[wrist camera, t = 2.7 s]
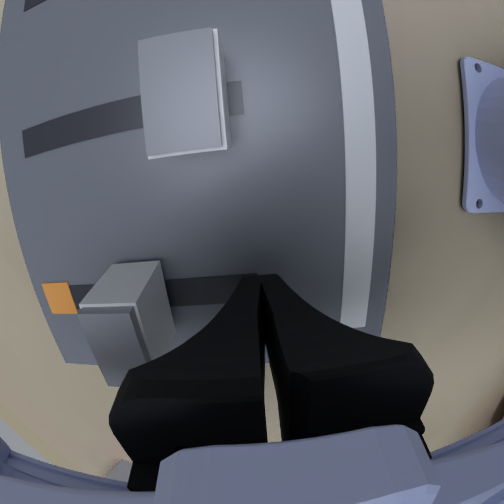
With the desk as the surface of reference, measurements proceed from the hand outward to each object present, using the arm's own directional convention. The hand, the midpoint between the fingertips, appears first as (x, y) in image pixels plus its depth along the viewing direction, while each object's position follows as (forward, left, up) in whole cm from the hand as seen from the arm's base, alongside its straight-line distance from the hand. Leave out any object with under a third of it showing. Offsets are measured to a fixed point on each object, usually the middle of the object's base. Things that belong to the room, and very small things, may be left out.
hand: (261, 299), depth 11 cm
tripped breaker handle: (+5, 0, 0) cm, 5 cm away
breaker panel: (+3, -7, -3) cm, 8 cm away
